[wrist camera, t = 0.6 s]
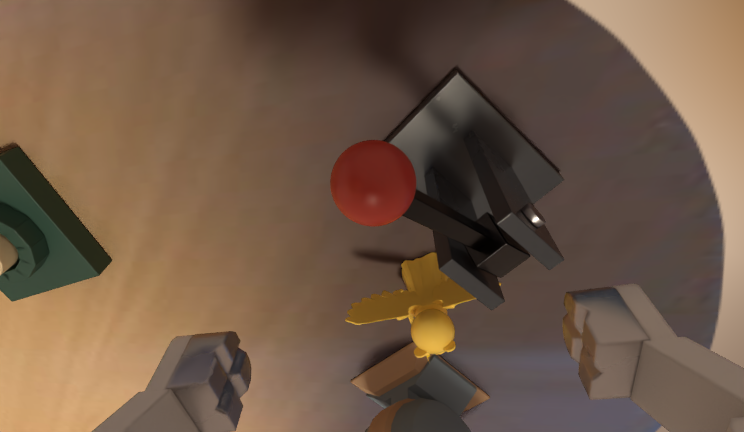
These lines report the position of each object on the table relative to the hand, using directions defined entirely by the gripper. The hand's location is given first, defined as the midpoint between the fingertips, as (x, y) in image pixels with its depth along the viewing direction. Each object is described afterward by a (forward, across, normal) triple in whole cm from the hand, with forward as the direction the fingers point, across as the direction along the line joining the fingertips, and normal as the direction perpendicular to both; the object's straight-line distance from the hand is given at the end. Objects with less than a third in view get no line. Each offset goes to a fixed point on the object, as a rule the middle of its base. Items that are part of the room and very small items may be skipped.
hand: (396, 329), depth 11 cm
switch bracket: (+24, -5, +8) cm, 25 cm away
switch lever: (+12, -1, +3) cm, 13 cm away
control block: (+24, +34, +7) cm, 42 cm away
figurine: (+24, -1, +21) cm, 31 cm away
